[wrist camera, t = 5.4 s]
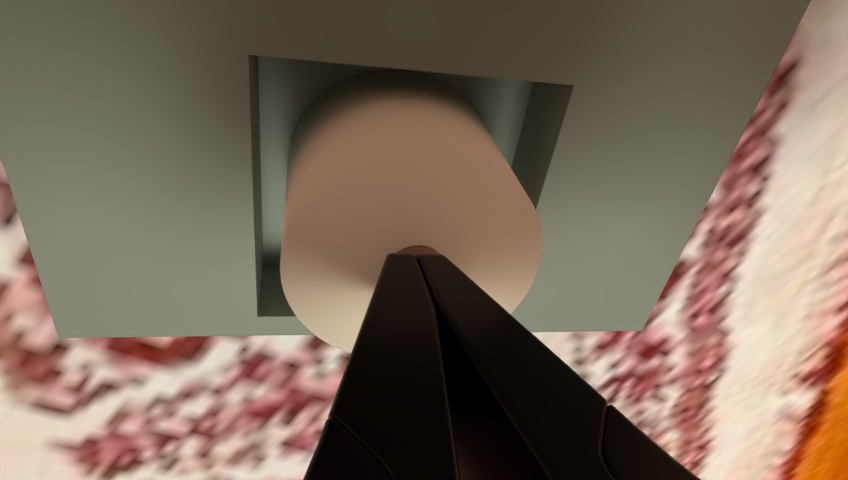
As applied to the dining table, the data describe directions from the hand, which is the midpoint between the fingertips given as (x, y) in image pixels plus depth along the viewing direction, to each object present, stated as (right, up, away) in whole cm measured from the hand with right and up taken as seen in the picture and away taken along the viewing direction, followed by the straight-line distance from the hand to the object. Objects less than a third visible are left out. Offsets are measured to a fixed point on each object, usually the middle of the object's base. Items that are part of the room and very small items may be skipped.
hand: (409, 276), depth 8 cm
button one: (0, +2, +3) cm, 3 cm away
